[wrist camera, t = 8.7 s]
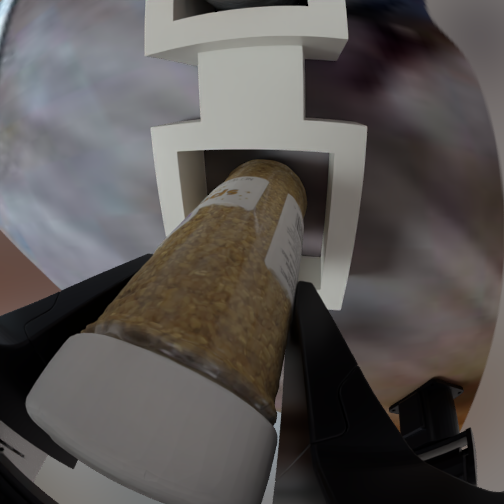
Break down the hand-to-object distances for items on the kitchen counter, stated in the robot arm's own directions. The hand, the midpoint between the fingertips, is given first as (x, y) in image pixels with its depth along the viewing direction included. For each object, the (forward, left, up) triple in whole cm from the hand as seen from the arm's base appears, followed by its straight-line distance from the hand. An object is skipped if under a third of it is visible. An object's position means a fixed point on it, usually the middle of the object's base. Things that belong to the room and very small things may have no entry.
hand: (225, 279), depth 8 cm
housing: (+2, -5, -7) cm, 9 cm away
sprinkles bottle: (0, 0, -7) cm, 7 cm away
